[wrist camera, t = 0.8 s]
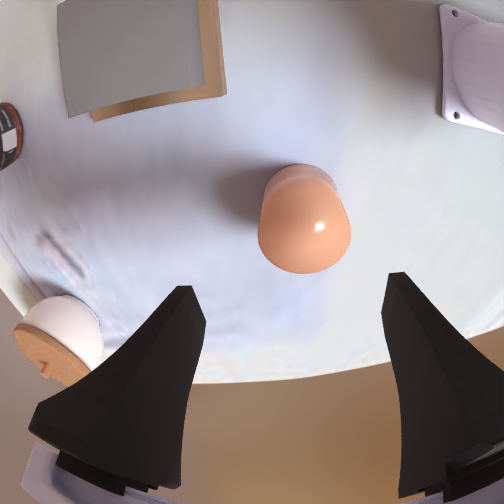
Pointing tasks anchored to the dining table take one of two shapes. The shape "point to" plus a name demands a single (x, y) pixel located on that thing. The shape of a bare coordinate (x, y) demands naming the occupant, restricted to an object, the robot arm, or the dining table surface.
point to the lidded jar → (61, 338)
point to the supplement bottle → (9, 135)
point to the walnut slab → (211, 89)
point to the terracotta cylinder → (303, 220)
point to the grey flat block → (127, 50)
